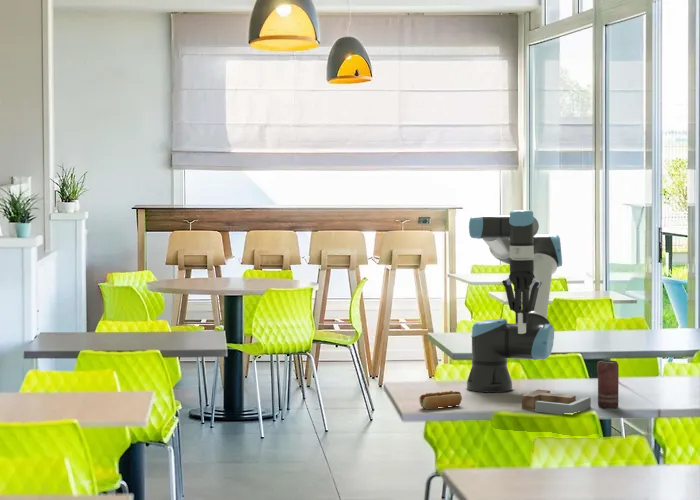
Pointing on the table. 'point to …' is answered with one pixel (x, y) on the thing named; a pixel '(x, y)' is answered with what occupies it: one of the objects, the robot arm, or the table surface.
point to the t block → (545, 398)
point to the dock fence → (563, 406)
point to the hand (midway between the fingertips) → (522, 333)
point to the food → (440, 399)
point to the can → (608, 383)
